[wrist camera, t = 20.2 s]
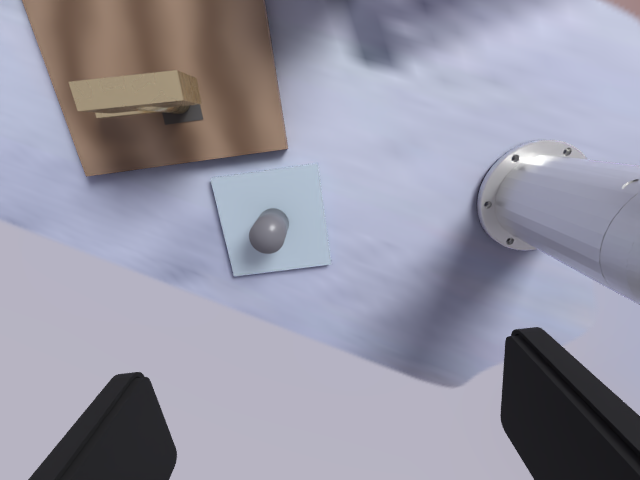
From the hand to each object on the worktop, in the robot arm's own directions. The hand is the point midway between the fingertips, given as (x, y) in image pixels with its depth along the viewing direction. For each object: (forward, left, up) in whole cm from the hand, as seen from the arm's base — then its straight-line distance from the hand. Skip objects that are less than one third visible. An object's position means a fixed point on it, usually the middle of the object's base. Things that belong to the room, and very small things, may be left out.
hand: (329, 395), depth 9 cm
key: (+15, -11, -28) cm, 34 cm away
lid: (+6, +3, -31) cm, 32 cm away
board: (+14, -17, -30) cm, 37 cm away
